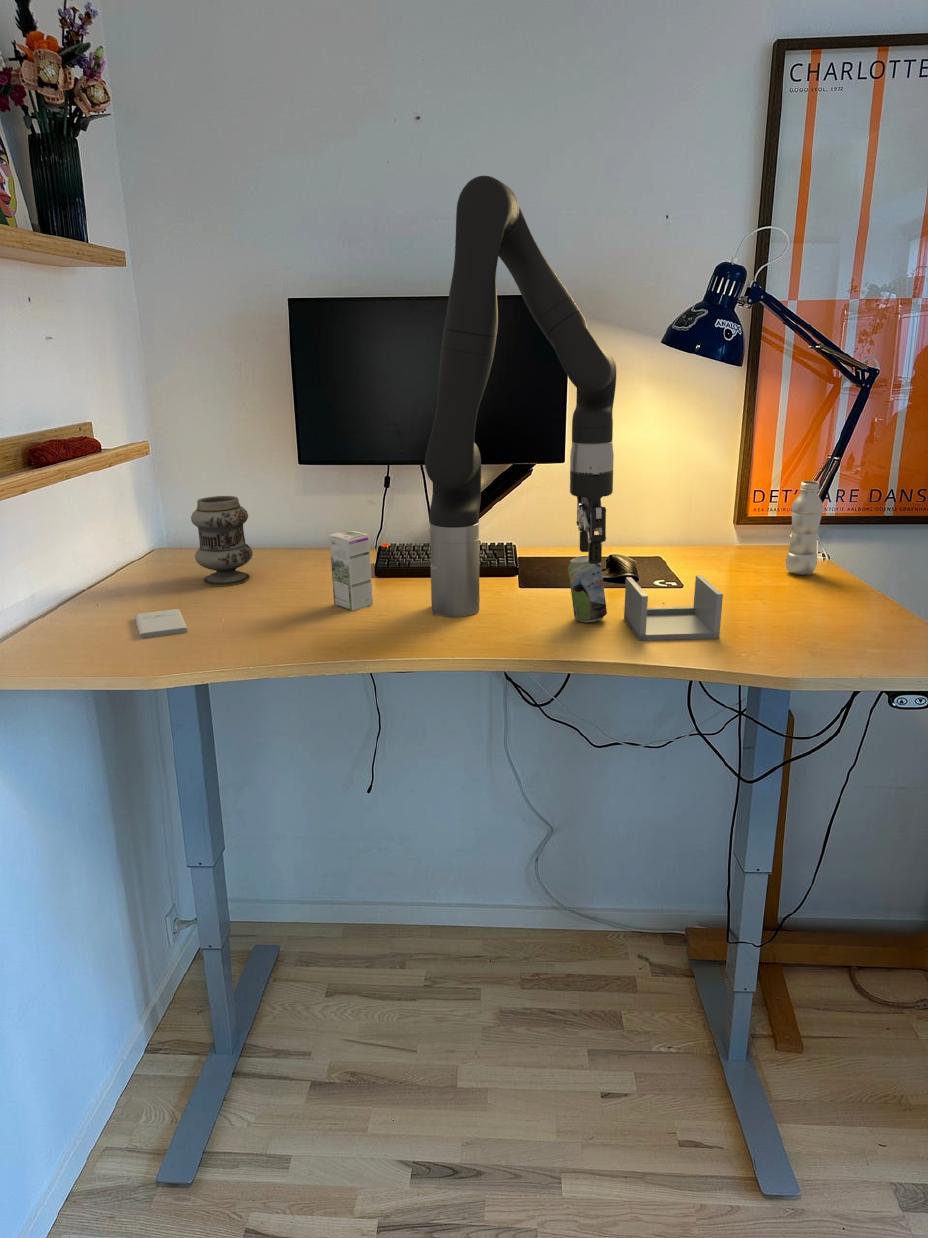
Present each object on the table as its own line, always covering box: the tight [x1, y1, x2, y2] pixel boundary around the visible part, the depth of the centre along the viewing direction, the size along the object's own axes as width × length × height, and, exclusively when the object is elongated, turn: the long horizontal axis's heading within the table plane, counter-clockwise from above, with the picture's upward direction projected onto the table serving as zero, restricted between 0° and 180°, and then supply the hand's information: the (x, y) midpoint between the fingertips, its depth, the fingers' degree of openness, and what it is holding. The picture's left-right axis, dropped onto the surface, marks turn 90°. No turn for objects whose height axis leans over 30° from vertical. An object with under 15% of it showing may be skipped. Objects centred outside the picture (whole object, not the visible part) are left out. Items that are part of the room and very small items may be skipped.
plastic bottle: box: [785, 480, 824, 576], centre depth 187 cm, size 6×7×20 cm
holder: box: [623, 574, 724, 641], centre depth 156 cm, size 14×12×8 cm
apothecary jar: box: [190, 495, 253, 587], centre depth 188 cm, size 12×12×18 cm
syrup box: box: [328, 529, 374, 611], centre depth 170 cm, size 6×6×14 cm
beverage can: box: [567, 555, 608, 623], centre depth 160 cm, size 6×7×12 cm
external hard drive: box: [134, 608, 189, 639], centre depth 162 cm, size 2×8×12 cm
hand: (590, 557), depth 158 cm, fingers open, 8 cm apart
